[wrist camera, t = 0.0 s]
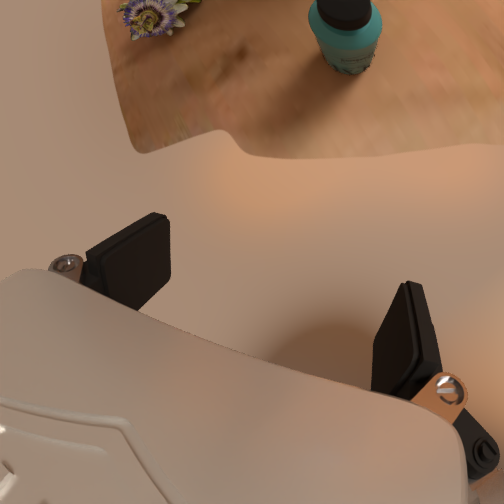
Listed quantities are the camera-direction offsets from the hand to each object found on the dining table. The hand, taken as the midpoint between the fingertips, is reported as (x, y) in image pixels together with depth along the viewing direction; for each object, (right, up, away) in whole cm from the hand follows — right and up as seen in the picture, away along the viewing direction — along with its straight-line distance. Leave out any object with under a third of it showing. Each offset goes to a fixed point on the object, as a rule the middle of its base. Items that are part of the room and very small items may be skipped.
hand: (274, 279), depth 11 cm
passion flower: (-14, +40, +22) cm, 48 cm away
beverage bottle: (+12, +27, +19) cm, 35 cm away
